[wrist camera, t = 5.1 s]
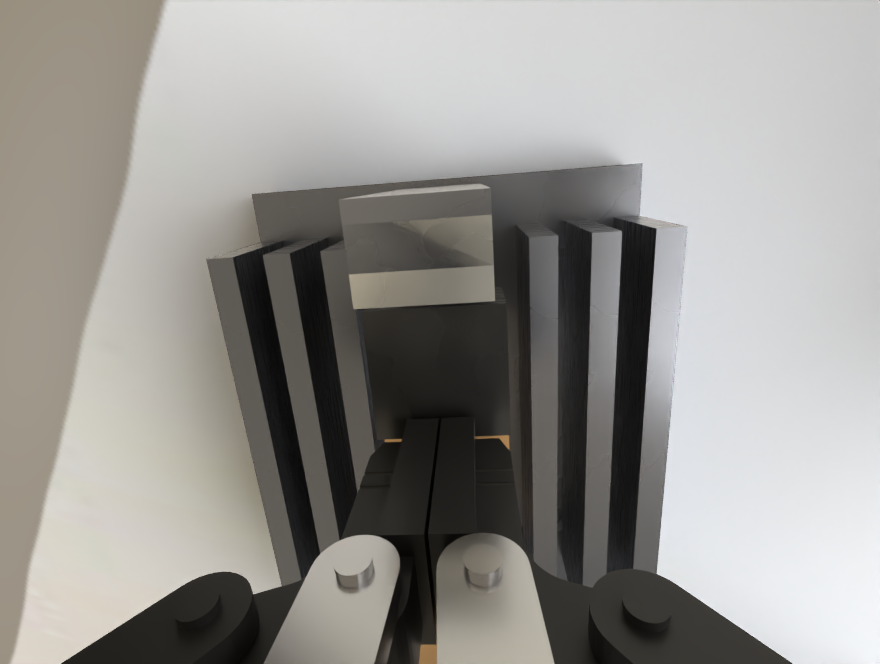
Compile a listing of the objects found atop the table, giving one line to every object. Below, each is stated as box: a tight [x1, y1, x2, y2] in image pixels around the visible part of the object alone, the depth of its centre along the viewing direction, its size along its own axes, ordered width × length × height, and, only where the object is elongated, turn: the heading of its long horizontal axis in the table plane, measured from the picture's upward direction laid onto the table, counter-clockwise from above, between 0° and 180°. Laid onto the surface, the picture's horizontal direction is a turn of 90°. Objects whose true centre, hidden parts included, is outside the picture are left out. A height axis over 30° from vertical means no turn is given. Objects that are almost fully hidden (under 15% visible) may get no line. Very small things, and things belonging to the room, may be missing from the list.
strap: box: [361, 287, 511, 664], centre depth 13 cm, size 16×4×2 cm, turn 4°
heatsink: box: [207, 164, 687, 588], centre depth 14 cm, size 18×12×9 cm, turn 4°
